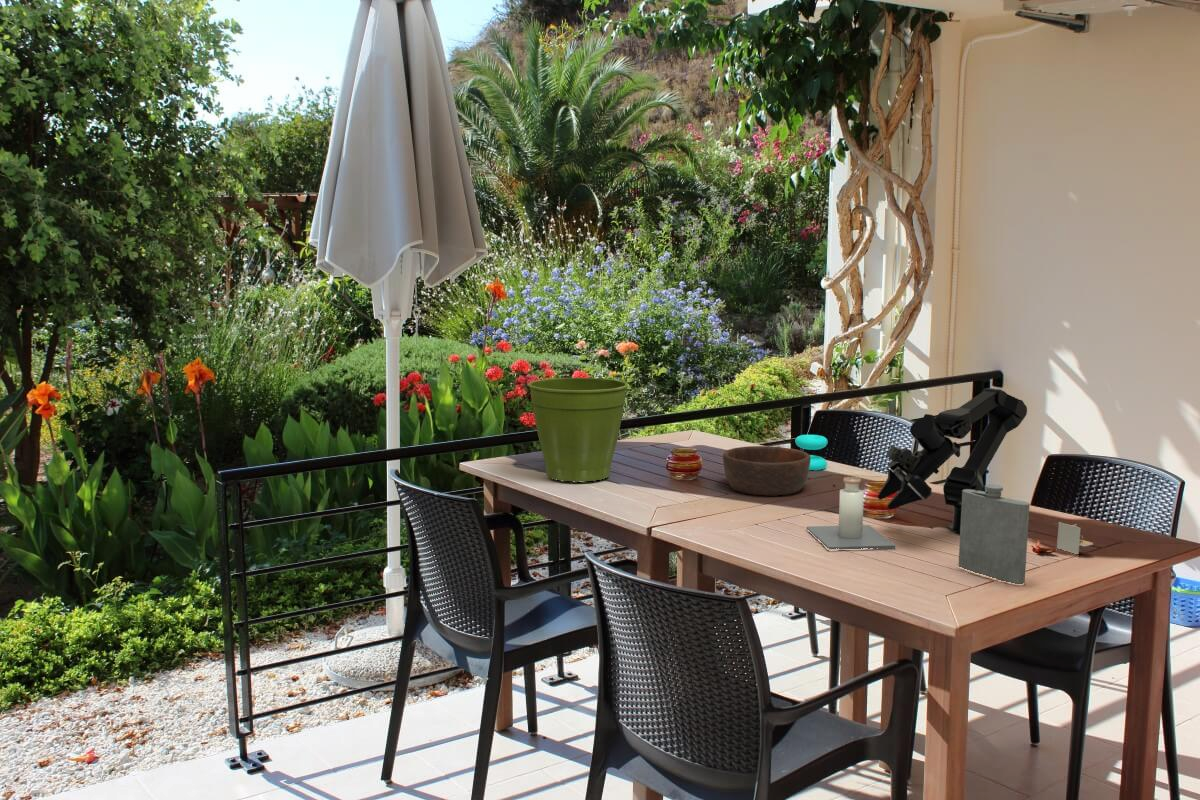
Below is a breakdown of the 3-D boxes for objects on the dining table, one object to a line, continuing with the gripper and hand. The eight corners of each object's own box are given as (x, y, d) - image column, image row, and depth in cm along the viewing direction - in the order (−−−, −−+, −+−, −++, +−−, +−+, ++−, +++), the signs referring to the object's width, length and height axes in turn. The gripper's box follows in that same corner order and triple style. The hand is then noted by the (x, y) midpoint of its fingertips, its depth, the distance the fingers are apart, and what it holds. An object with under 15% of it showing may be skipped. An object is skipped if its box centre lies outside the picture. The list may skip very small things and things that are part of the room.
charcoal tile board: (895, 549, 252) (895, 545, 252) (828, 551, 251) (828, 547, 251) (869, 528, 270) (869, 524, 270) (806, 530, 268) (806, 526, 268)
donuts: (834, 436, 339) (814, 441, 332) (833, 468, 340) (814, 472, 333) (808, 432, 346) (788, 436, 339) (807, 463, 347) (788, 467, 341)
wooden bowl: (713, 495, 305) (714, 459, 304) (732, 476, 329) (732, 443, 327) (802, 502, 297) (803, 465, 296) (815, 482, 321) (816, 448, 319)
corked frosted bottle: (865, 538, 258) (867, 481, 256) (842, 539, 257) (844, 481, 255) (857, 532, 263) (859, 476, 261) (835, 532, 263) (837, 476, 261)
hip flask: (1027, 584, 228) (1033, 491, 224) (1015, 587, 225) (1021, 494, 222) (964, 565, 241) (969, 477, 237) (952, 568, 238) (957, 479, 235)
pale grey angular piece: (1065, 550, 253) (1067, 520, 252) (1091, 558, 247) (1094, 527, 246) (1055, 553, 251) (1057, 522, 250) (1082, 560, 245) (1084, 529, 244)
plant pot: (601, 492, 308) (601, 392, 303) (511, 482, 321) (510, 386, 316) (643, 472, 334) (643, 380, 330) (558, 463, 347) (557, 374, 343)
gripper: (897, 427, 266) (851, 471, 268) (920, 442, 247) (870, 489, 249) (928, 458, 267) (881, 502, 269) (952, 475, 249) (902, 522, 250)
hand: (883, 503), depth 259 cm, fingers open, 9 cm apart
